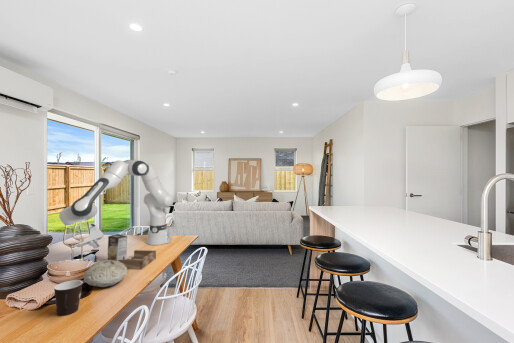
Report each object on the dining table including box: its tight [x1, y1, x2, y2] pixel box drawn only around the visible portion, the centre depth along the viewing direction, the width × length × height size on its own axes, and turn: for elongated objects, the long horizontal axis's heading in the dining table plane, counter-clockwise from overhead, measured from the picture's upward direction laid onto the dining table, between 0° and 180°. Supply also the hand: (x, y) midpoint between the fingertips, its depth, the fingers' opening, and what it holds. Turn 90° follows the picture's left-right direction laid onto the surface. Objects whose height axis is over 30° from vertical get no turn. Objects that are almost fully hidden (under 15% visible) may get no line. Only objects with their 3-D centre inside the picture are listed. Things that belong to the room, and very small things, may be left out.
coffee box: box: [107, 233, 128, 261], centre depth 147 cm, size 9×6×16 cm
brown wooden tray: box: [118, 249, 157, 270], centre depth 146 cm, size 18×19×6 cm
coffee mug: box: [53, 279, 84, 317], centre depth 92 cm, size 12×9×10 cm
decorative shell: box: [83, 259, 128, 288], centre depth 118 cm, size 18×18×10 cm
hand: (97, 247), depth 147 cm, fingers closed
